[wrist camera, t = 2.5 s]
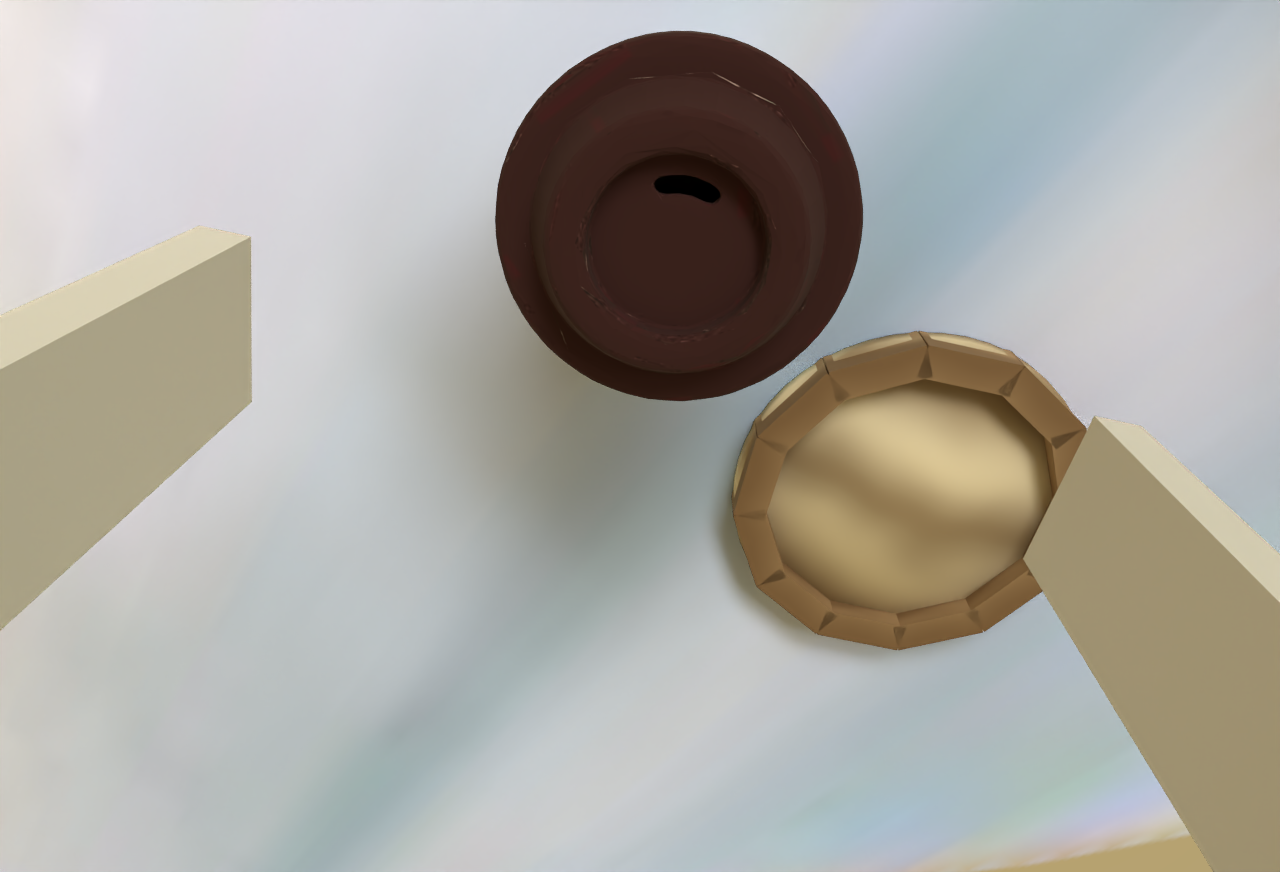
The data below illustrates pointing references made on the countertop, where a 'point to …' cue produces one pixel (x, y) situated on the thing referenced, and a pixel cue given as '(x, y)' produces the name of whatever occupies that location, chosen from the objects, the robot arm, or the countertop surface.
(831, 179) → the coffee cup
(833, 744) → the countertop surface
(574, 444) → the countertop surface
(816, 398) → the round tray
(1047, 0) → the countertop surface
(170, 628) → the countertop surface
